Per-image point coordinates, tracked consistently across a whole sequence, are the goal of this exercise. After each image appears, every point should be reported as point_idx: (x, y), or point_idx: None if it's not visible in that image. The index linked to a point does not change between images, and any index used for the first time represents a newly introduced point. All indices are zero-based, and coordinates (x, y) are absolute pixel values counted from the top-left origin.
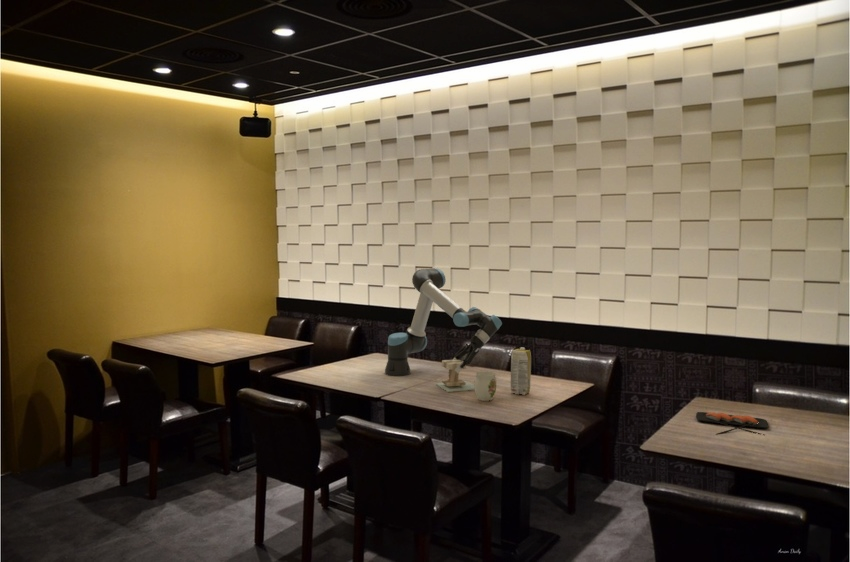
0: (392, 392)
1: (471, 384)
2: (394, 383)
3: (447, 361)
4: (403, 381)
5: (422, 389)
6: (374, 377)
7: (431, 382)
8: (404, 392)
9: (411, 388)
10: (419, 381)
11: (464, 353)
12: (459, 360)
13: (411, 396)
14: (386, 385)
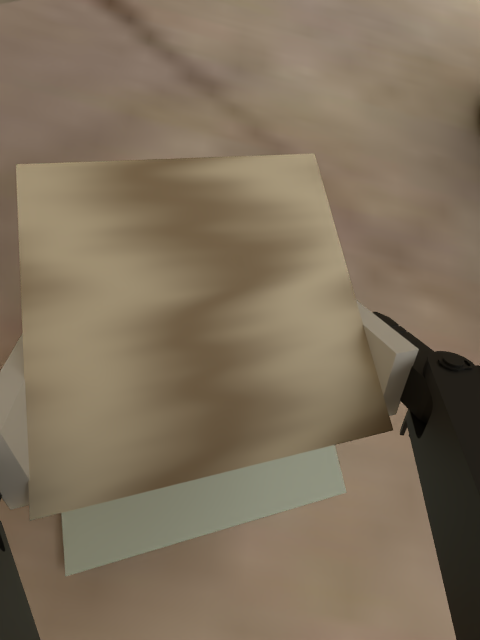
0: (127, 9)
1: (227, 521)
2: (324, 69)
3: (233, 204)
4: (367, 117)
5: (169, 157)
6: (441, 30)
7: (344, 249)
8: (114, 56)
9: (204, 111)
10: (368, 191)
11: (476, 621)
12: (301, 421)
13: (4, 60)
14: (283, 28)
